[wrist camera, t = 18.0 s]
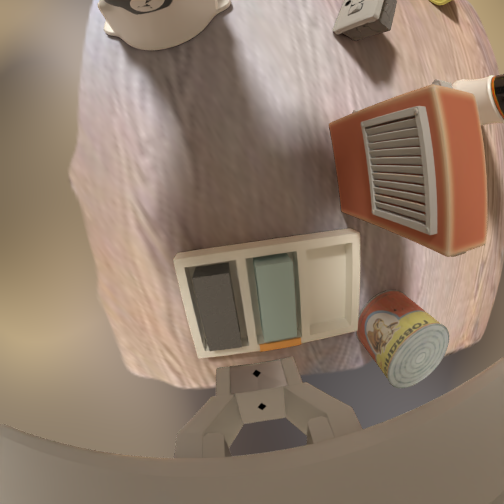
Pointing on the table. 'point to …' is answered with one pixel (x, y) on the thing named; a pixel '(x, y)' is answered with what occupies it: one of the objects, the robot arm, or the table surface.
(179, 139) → the table surface
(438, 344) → the canned food
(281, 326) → the panel
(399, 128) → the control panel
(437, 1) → the plastic component
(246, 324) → the cream compartment tray
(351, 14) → the electrical switch
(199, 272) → the dark grey long block
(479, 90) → the vodka
